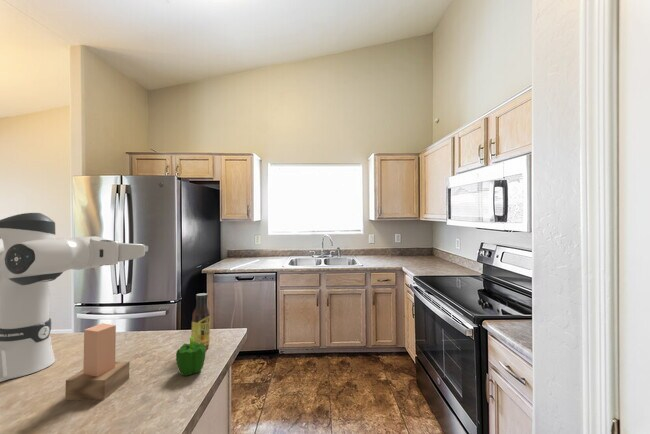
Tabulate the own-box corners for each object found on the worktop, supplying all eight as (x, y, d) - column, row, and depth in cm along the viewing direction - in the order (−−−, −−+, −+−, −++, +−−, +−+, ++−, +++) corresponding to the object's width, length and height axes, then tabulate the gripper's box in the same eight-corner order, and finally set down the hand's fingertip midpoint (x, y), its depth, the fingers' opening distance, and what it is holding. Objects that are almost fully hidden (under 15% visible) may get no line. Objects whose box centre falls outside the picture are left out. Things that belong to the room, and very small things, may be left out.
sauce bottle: (202, 353, 102) (203, 297, 103) (187, 351, 103) (187, 296, 104) (213, 345, 109) (213, 292, 109) (198, 344, 110) (198, 291, 110)
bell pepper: (200, 378, 86) (200, 344, 86) (171, 379, 85) (172, 345, 86) (209, 364, 94) (209, 333, 95) (183, 365, 94) (183, 334, 94)
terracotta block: (96, 376, 77) (97, 331, 78) (83, 373, 79) (84, 329, 79) (115, 367, 82) (115, 325, 82) (102, 365, 84) (102, 323, 84)
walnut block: (65, 399, 75) (65, 380, 75) (94, 379, 85) (95, 361, 85) (104, 399, 76) (104, 380, 76) (129, 378, 86) (129, 361, 86)
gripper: (63, 261, 84) (110, 256, 97) (117, 265, 78) (159, 258, 91) (63, 240, 84) (111, 237, 97) (117, 241, 78) (159, 239, 91)
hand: (135, 248), depth 94 cm, fingers open, 8 cm apart
